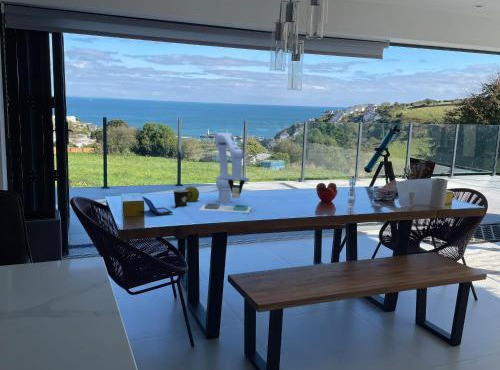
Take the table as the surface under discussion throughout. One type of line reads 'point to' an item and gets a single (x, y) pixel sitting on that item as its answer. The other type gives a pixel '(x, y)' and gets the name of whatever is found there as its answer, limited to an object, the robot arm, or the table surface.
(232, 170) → the robot arm
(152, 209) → the handheld game console
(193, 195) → the apple
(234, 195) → the plug
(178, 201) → the coffee mug
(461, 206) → the table surface
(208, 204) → the panel
